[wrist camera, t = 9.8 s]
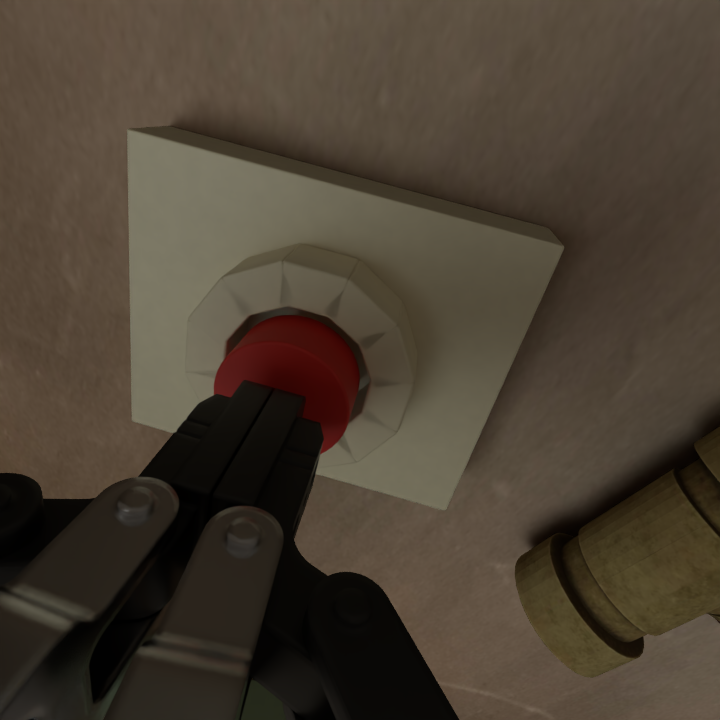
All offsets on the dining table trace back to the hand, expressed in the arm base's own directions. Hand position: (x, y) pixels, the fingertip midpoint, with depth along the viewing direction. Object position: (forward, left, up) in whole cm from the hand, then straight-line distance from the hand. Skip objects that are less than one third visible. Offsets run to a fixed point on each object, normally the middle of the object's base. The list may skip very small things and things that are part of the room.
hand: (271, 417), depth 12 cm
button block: (0, 0, -6) cm, 6 cm away
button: (0, 0, -2) cm, 2 cm away
